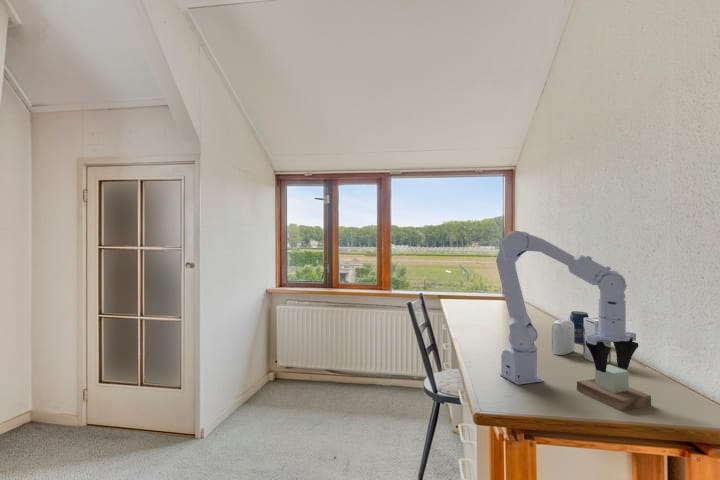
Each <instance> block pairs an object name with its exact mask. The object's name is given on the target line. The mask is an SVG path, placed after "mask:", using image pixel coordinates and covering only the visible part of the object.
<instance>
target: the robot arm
mask: <svg viewBox="0 0 720 480" xmlns="http://www.w3.org/2000/svg"><path fill="white" fill-rule="evenodd" d="M500 242H501V243H500V247H499V250H498V253H497V255H496V256H497V257H496V258H495V259H496V260H495V262H496V266H497V270H498V275H499V279H500V283H501V287H502V291H503V295H504V299H505V303H506V307H507V311H508V312H507V313H508V315H509V323H508V327H509V335H508V341H509V343H510V345H509V348H508V349H504V350H502V353H501V358H500V359H501V360H500V361H501V363H500V364H501V372H500V373H499V375H500V376H501V377H503V378H505V379H507V380H509V381H510V382H512V383H514V384H515V385H519V386H520V385H527V384H534V383H539V382H540V383H541V382H542V383H543V382H544V381H545V379H544V378H542V377H540V376H538V348H537V346H536V344H535V342H536V340H537V339H538V335H539V334H538V331H537V329H536V328H535V326H534V325H533V323H532V320H531V317H529V315H528V312H527V307H526V303H525V300H524V299H525V298H524V295H523V291H522V288H521V283H520V280H519V275H518V272H517V267H516V262H517V261H518V260H519V259H520V258H521V256H522V255H523V254H524V253H527V252H537V253H542V254H544V255H545V256H547V257H549V258H551V259H553V260H556V261H557V262H559V263H562V264H563V265H565V266H567V267H568V271H569V273H570V274H572V275H574V276H575V277H577V278H579V279H581V280H583V281H585V283H588V284H590V285H591V286H597V287H598V289H599V298H598V317H599V332H597V333H595V334H592V335H587V341H586V346H587V347H588V349H589V350H590V352H591V355H592V357H593V360H594V362H593V363H594V367H596V370H598V371H601V372H606V368H607V365H608V363H607V358H608V355H609V352H610V350H612V347H611V348H610V347H607V346H605V344H604V343H607V342H611V343H613V345H614V350H615V353H616V354H615V355H616V365H617V367H618V368H620V369H623V370H628V368H629V366H630V363H631V360H632V357H633V355H634V353H635V351H636V350H637V349H638V348H639V343H638V342H636V340H637V333H635V332H632V331H626V328H627V327H626V326H627V325H626V323H627V322H626V318H627V317H626V316H627V315H626V314H627V312H626V311H627V309H626V308H627V307H626V303H627V302H626V300H625V299H626V293H625V291H626V289H627V286H628V285H627V282H626V280H625V279H626V278H624V276H623V275H622V274H620V273H619V272H618V271H615V270H611V267H610V266H608V265H607V266H604V265H602V264H601V263H599V262H596V261H595V260H593V257H592V256H590V255H587V256H585V255H583V254H582V255H581V254H580V255H577V256H574V255H572V254H571V253H569V252H567V251H566V250H563V249H561V248H560V247H558V246H556V245H554V244H553V243H552V242H550V241H548V240H546V239H544V238H541V237H539V236H536V235H534V234H530V233H528V232H527V231H519V230H512V231H510V232H508V233H507V234H506V235H505V236H504V237H503V239H502V240H501V241H500Z"/></svg>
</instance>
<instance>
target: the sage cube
mask: <svg viewBox="0 0 720 480" xmlns="http://www.w3.org/2000/svg"><path fill="white" fill-rule="evenodd" d="M594 367H595V366H594ZM594 371H595V378H594V379H595V385H596V386H599V387H601V388H603V389H606V390H608V391H610V392H613V393H618V392H624V391H629V387H630V386H629V371H628V370H627V369H623V368H620V367H618V366H614V365H612V364H607V368H606V372H601V371H598V370H596V367H595V370H594Z"/></svg>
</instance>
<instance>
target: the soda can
mask: <svg viewBox="0 0 720 480" xmlns="http://www.w3.org/2000/svg"><path fill="white" fill-rule="evenodd" d="M584 317H590V315H589V313H588V312H584V311H577V310H576V311H574V310H573V311H571V313H570V315H569V320H571V321H572V322H573V323H574V344H580V345H583V344H584Z"/></svg>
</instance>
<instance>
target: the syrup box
mask: <svg viewBox="0 0 720 480" xmlns="http://www.w3.org/2000/svg"><path fill="white" fill-rule="evenodd" d="M597 332H599V316H598V317H597V316H595V317H590V316H589V317H584V344H582V345H583V351H582V352H583V353H582V354H583V355H582V356H583V359H586V360H587V361H590V362H592V363H594V360H593V357H592V355H591V352H590V350H589V349H588V347H587V346H586V341H587V335H592V334H595V333H597ZM604 344H605V346H607V347H610V348H611V350H612V342H607V343H604ZM611 350H610V352H609V355H608V358H607V364H609V363H611V360H612V359H611V357H612V356H611V352H612V351H611Z"/></svg>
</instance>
